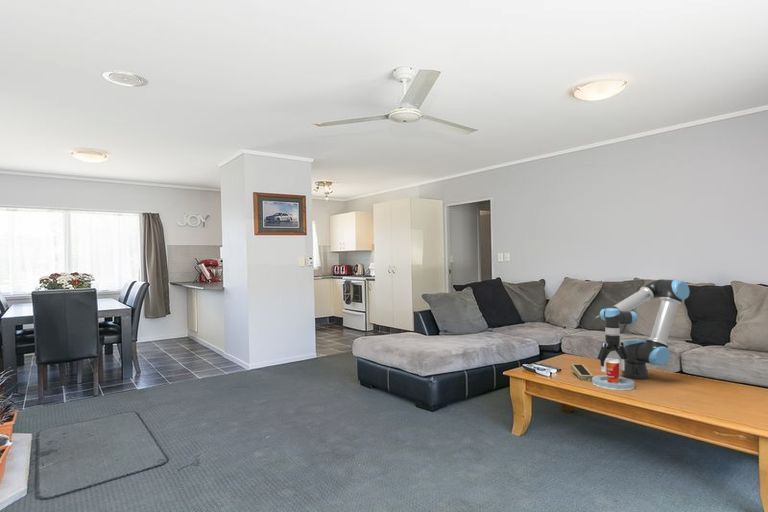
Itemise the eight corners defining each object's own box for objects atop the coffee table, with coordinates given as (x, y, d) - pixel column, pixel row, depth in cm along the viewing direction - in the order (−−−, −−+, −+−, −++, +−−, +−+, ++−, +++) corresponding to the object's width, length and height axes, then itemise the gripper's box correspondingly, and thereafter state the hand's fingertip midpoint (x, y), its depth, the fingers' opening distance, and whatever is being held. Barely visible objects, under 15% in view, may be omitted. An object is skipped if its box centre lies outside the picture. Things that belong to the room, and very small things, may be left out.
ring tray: (612, 379, 271) (612, 374, 271) (643, 388, 250) (643, 383, 250) (584, 381, 264) (583, 376, 264) (613, 391, 243) (613, 386, 243)
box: (582, 370, 286) (582, 363, 286) (596, 385, 264) (597, 378, 263) (569, 370, 287) (569, 363, 286) (582, 385, 265) (582, 378, 264)
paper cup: (603, 381, 261) (602, 358, 261) (616, 381, 261) (615, 357, 261) (609, 385, 253) (608, 361, 253) (623, 385, 253) (622, 360, 253)
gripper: (600, 336, 250) (600, 374, 250) (634, 334, 258) (634, 370, 257) (590, 334, 257) (590, 370, 257) (623, 332, 265) (624, 367, 264)
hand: (612, 370), depth 257 cm, fingers open, 13 cm apart
